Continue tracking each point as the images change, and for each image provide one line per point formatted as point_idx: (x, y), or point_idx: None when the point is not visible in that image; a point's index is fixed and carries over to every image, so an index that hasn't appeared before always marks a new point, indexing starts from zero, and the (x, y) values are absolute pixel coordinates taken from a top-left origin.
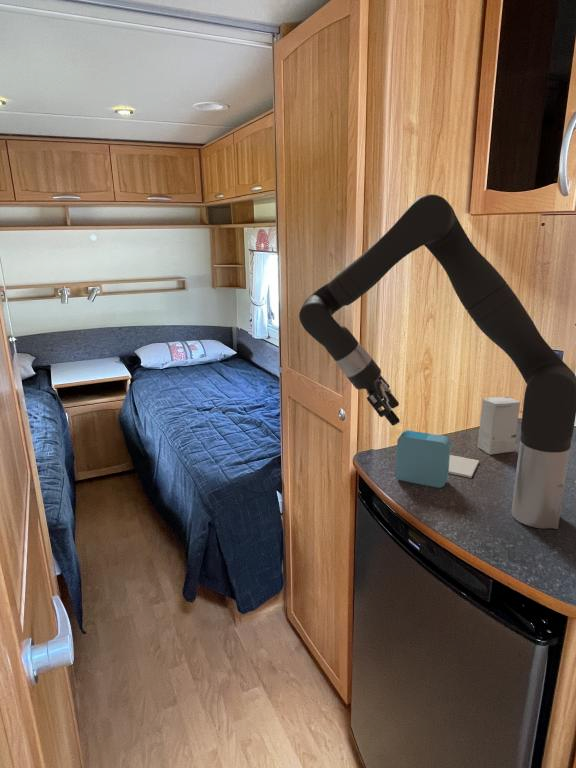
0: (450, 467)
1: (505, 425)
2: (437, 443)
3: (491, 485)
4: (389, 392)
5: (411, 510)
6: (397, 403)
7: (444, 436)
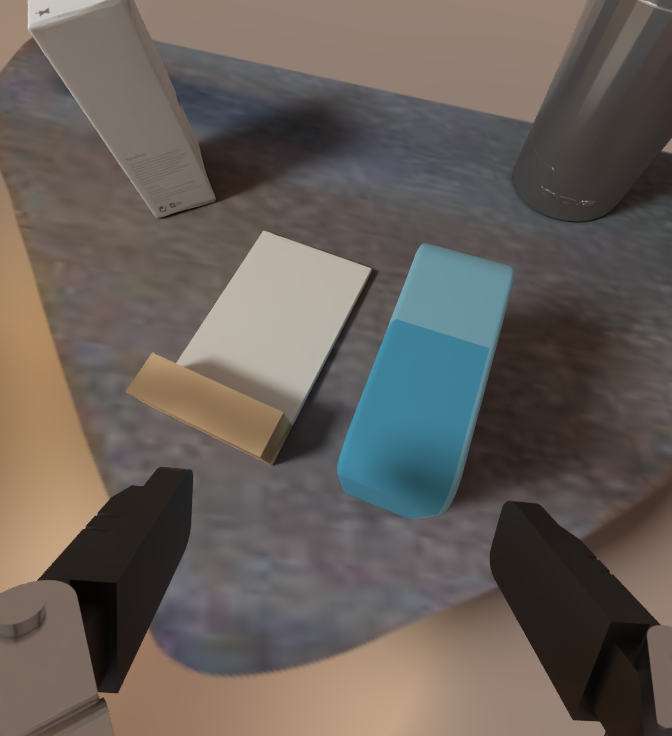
0: (315, 314)
1: (166, 79)
2: (508, 299)
3: (410, 233)
4: (80, 623)
5: (635, 486)
6: (183, 482)
7: (427, 254)
